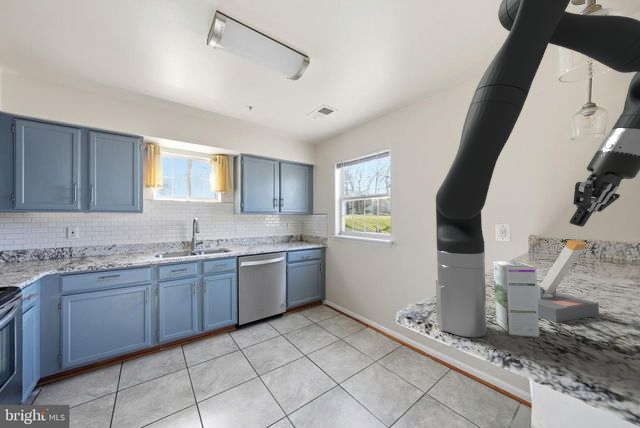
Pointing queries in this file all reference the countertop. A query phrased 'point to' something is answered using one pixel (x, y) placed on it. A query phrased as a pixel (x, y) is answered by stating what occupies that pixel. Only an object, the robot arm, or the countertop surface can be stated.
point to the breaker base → (564, 307)
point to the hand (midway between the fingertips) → (575, 225)
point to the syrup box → (516, 298)
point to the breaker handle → (562, 265)
